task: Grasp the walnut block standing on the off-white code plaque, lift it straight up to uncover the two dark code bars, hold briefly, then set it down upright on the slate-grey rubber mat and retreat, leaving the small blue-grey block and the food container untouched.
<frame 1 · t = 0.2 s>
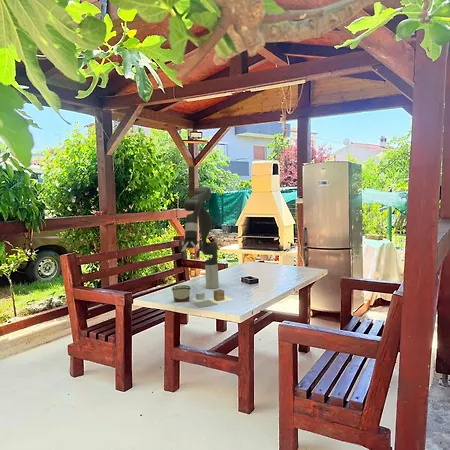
hand: (190, 258, 225), 31 cm above the table, tool tilted 20°, fingers open, 8 cm apart
mat: (204, 304, 238), on the table
code plaque: (219, 300, 246), on the table
food container: (182, 301, 248), on the table
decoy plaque: (200, 299, 250), on the table
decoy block: (200, 299, 250), resting on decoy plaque
block: (219, 299, 246), resting on code plaque
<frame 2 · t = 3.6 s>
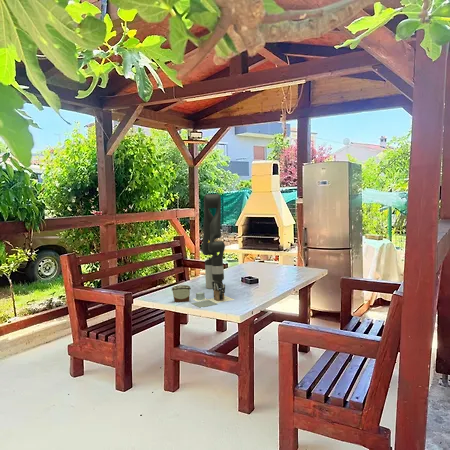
hand: (219, 298, 246), 1 cm above the table, tool pointing down, fingers closed on block, 5 cm apart
block: (219, 299, 246), resting on code plaque, touching gripper
everything else where it was.
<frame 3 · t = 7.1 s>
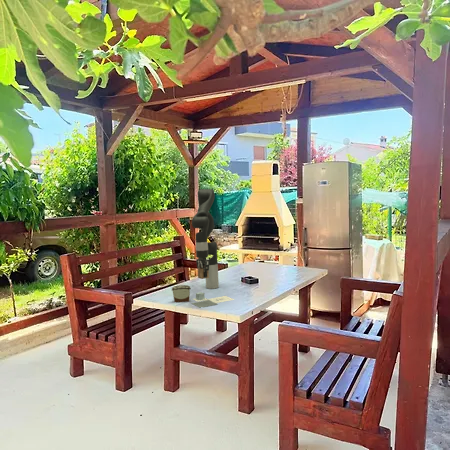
hand: (203, 276, 237), 17 cm above the table, tool pointing down, fingers closed on block, 5 cm apart
block: (203, 277, 237), point 17 cm above the table, touching gripper
everything else where it was.
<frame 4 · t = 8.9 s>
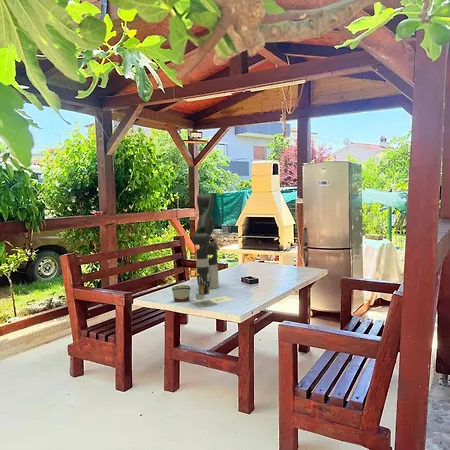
hand: (204, 292, 237), 7 cm above the table, tool pointing down, fingers closed on block, 5 cm apart
block: (204, 294, 237), point 7 cm above the table, touching gripper
everything else where it was.
when the fingers open (2 cm above the table, at t = 10.4 s): block drops 1 cm, resting on mat.
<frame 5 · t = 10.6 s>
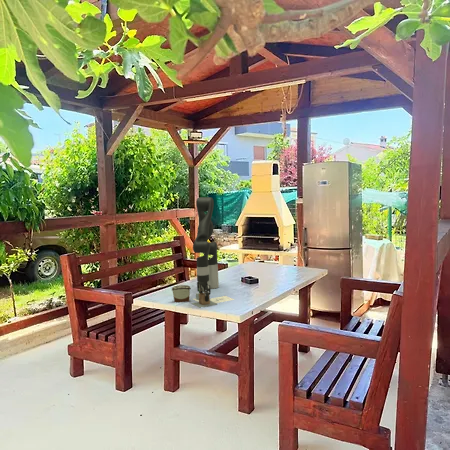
hand: (204, 300, 238), 3 cm above the table, tool pointing down, fingers open, 7 cm apart
block: (204, 303, 238), point 1 cm above the table, touching mat
everything else where it was.
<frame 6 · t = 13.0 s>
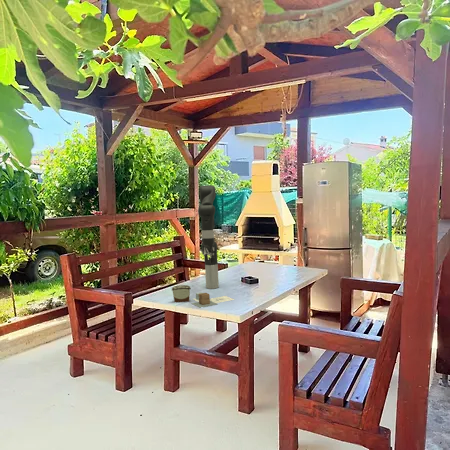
hand: (209, 262, 242), 25 cm above the table, tool pointing down, fingers open, 8 cm apart
nothing on the table moved.
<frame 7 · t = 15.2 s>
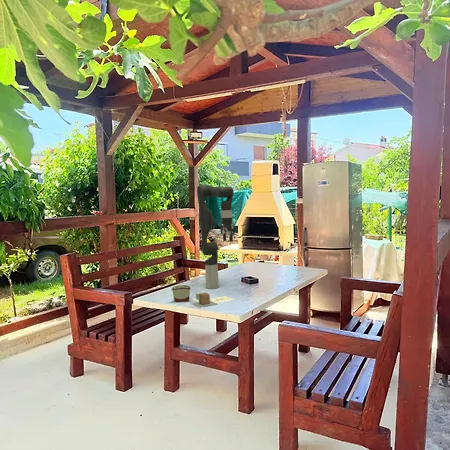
hand: (227, 241, 257), 36 cm above the table, tool pointing down, fingers open, 8 cm apart
nothing on the table moved.
at the end: block inside the target area on the mat (0.0 cm from its centre), point 0.6 cm above the mat's base; block tilted 0°; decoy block moved 0.1 cm from its start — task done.
